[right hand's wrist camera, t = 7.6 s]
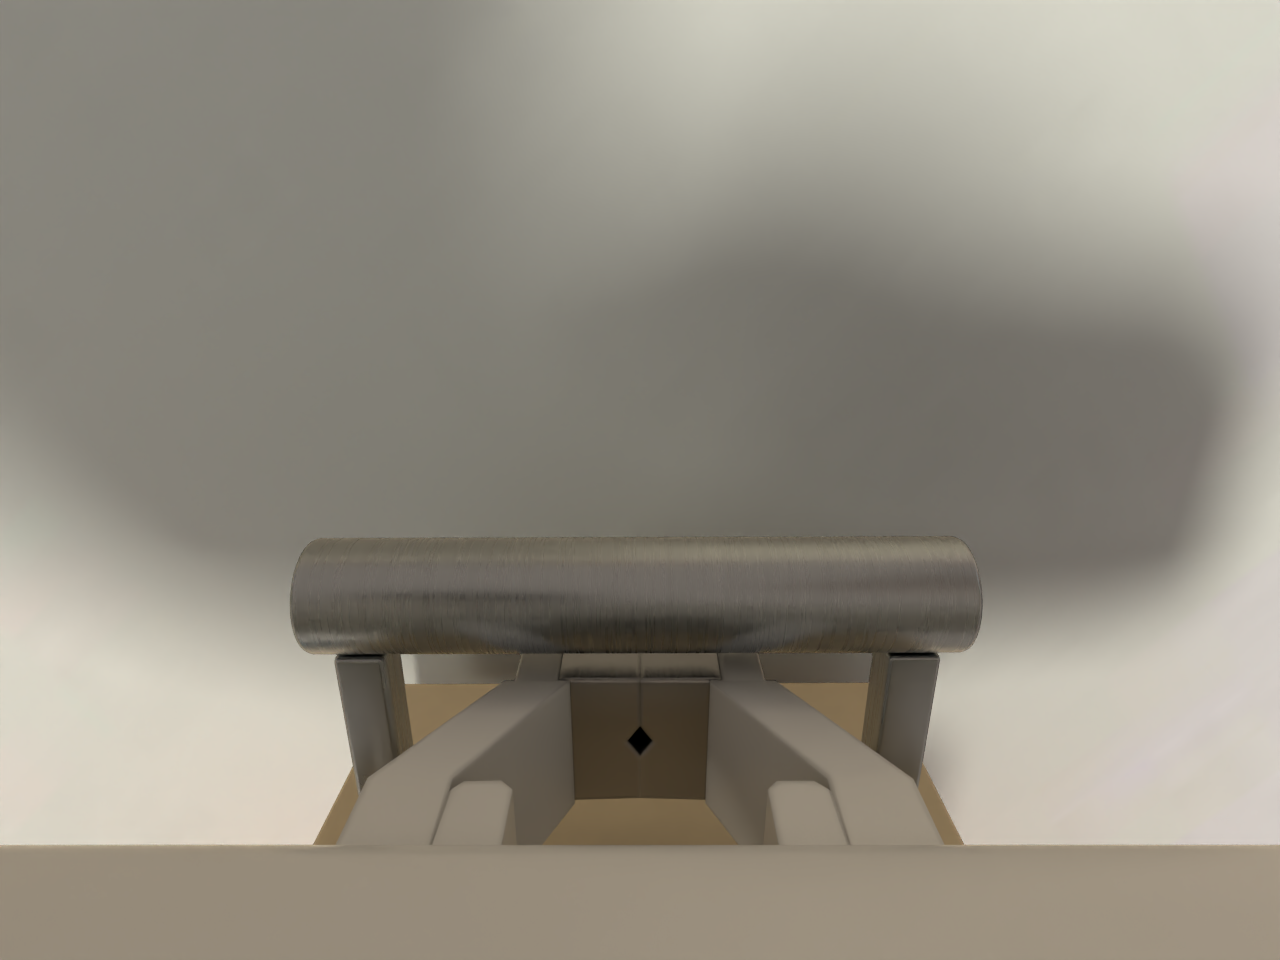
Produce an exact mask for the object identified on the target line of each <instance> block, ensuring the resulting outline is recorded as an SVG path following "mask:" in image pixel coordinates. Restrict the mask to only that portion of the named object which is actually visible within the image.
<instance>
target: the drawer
mask: <svg viewBox="0 0 1280 960" xmlns="http://www.w3.org/2000/svg"><path fill="white" fill-rule="evenodd" d="M290 616H291V623H292V628H293V632H294V635H295V638H296V640H297V642H298V644H299V645H300V647H301V648H302V649H303V650H304V651H306V652H308V653H310V654H338V655H337V656H336V658H335V668H336V674H337V679H338V685H339V690H340V696H341V701H342V707H343V713H344V718H345V724H346V729H347V735H348V740H349V746H350V752H351V757H352V763H353V767H352V769H351V771H350V773H349V775H348V777H347V779H346V781H345V783H344V785H343V787H342V789H341V791H340V793H339V795H338V797H337V799H336V801H335V803H334V805H333V807H332V809H331V810H330V812H329V814H328V816H327V818H326V820H325V822H324V824H323V826H322V828H321V830H320V832H319V834H318V836H317V838H316V840H315V842H314V844H313V845H336V843H337V841H338V838H339V836H340V834H341V832H342V830H343V828H344V826H345V824H346V822H347V820H348V818H349V815H350V813H351V811H352V809H353V807H354V805H355V803H356V801H357V799H358V797H359V795H360V793H361V790H362V788H363V786H364V784H365V782H366V780H367V778H368V777H369V776H371V775H372V774H374V773H375V772H376V771H378V770H379V769H381V768H382V767H383V766H385V765H386V764H388V763H389V762H390V761H392V760H393V759H395V758H396V757H397V756H399V755H400V754H402V753H403V752H405V751H406V750H407V749H409V748H410V747H412V746H413V745H414V744H416V743H417V742H419V741H420V740H421V739H423V738H424V737H426V736H427V735H428V734H430V733H431V732H433V731H434V730H435V729H437V728H438V727H440V726H441V725H443V724H444V723H445V722H447V721H448V720H450V719H451V718H452V717H454V716H455V715H457V714H458V713H459V712H461V711H462V710H464V709H465V708H466V707H468V706H469V705H471V704H472V703H473V702H475V701H476V700H478V699H479V698H480V697H482V696H483V695H485V694H486V693H488V692H489V691H490V690H492V689H493V688H495V687H496V686H497V685H499V684H405V683H404V676H403V669H402V661H401V654H592V653H873V654H872V662H871V670H870V677H869V683H780V684H781V685H783V686H784V687H785V688H787V689H788V690H790V691H791V692H792V693H794V694H795V695H797V696H798V697H799V698H801V699H802V700H804V701H805V702H806V703H808V704H809V705H811V706H812V707H813V708H815V709H816V710H818V711H819V712H820V713H822V714H823V715H825V716H826V717H827V718H829V719H830V720H832V721H833V722H834V723H836V724H837V725H839V726H840V727H841V728H843V729H844V730H846V731H847V732H848V733H850V734H851V735H853V736H854V737H855V738H857V739H858V740H860V741H861V742H862V743H864V744H865V745H867V746H868V747H869V748H871V749H872V750H874V751H875V752H876V753H878V754H879V755H881V756H882V757H883V758H885V759H886V760H888V761H889V762H890V763H892V764H893V765H895V766H896V767H897V768H899V769H900V770H902V771H903V772H904V773H906V774H907V775H909V776H910V777H911V778H913V779H914V781H915V783H916V786H917V788H918V790H919V792H920V794H921V796H922V798H923V800H924V802H925V805H926V807H927V809H928V811H929V813H930V815H931V817H932V819H933V821H934V824H935V826H936V828H937V830H938V832H939V834H940V836H941V838H942V841H943V843H944V845H964V843H963V841H962V839H961V837H960V835H959V834H958V832H957V830H956V828H955V826H954V824H953V822H952V820H951V818H950V816H949V814H948V812H947V810H946V808H945V806H944V804H943V802H942V800H941V798H940V796H939V794H938V792H937V790H936V788H935V786H934V784H933V782H932V780H931V778H930V776H929V774H928V772H927V770H926V768H925V766H924V764H923V757H924V751H925V745H926V739H927V733H928V727H929V721H930V715H931V709H932V703H933V697H934V691H935V685H936V679H937V674H938V668H939V662H940V658H939V655H938V654H937V652H963V651H965V650H967V649H969V648H970V647H971V646H972V645H973V643H974V642H975V640H976V638H977V635H978V632H979V629H980V624H981V618H982V588H981V581H980V576H979V572H978V568H977V565H976V562H975V559H974V557H973V555H972V553H971V551H970V549H969V548H968V546H967V545H966V544H965V543H964V542H963V541H962V540H960V539H959V538H956V537H953V536H847V537H520V538H319V539H316V540H314V541H312V542H311V543H309V544H308V545H307V546H306V548H305V549H304V550H303V552H302V553H301V555H300V557H299V559H298V562H297V565H296V568H295V571H294V575H293V579H292V585H291V593H290ZM542 845H738V844H737V843H736V841H735V840H734V839H733V838H732V836H731V835H730V834H729V832H728V831H727V830H726V829H725V827H724V826H723V825H722V824H721V822H720V821H719V820H718V818H717V817H716V816H715V815H714V813H713V812H712V811H711V810H710V808H709V807H708V806H707V804H706V803H705V800H691V799H655V798H624V799H589V800H575V804H574V805H573V806H572V808H571V809H570V810H569V812H568V813H567V814H566V815H565V817H564V818H563V819H562V820H561V822H560V823H559V824H558V825H557V827H556V828H555V829H554V830H553V832H552V833H551V834H550V836H549V837H548V838H547V839H546V841H545V842H544V843H543V844H542Z"/></svg>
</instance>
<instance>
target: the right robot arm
mask: <svg viewBox="0 0 1280 960" xmlns="http://www.w3.org/2000/svg"><path fill="white" fill-rule="evenodd" d="M624 798H655V799H691V800H705V803H706V804H707V806H708V807H709V808H710V810H711V811H712V812H713V813H714V815H715V816H716V817H717V818H718V820H719V821H720V822H721V824H722V825H723V826H724V827H725V829H726V830H727V831H728V832H729V834H730V835H731V836H732V838H733V839H734V840H735V841H736V843H737V844H738V845H542V844H543V843H544V842H545V841H546V839H547V838H548V837H549V836H550V834H551V833H552V832H553V830H554V829H555V828H556V827H557V825H558V824H559V823H560V822H561V820H562V819H563V818H564V817H565V815H566V814H567V813H568V812H569V810H570V809H571V808H572V806H573V805H574V804H575V800H589V799H624ZM0 960H1280V845H944V843H943V841H942V838H941V836H940V834H939V832H938V830H937V828H936V826H935V824H934V821H933V819H932V817H931V815H930V813H929V811H928V809H927V807H926V805H925V802H924V800H923V798H922V796H921V794H920V792H919V790H918V788H917V786H916V783H915V781H914V779H913V778H911V777H910V776H909V775H907V774H906V773H904V772H903V771H902V770H900V769H899V768H897V767H896V766H895V765H893V764H892V763H890V762H889V761H888V760H886V759H885V758H883V757H882V756H881V755H879V754H878V753H876V752H875V751H874V750H872V749H871V748H869V747H868V746H867V745H865V744H864V743H862V742H861V741H860V740H858V739H857V738H855V737H854V736H853V735H851V734H850V733H848V732H847V731H846V730H844V729H843V728H841V727H840V726H839V725H837V724H836V723H834V722H833V721H832V720H830V719H829V718H827V717H826V716H825V715H823V714H822V713H820V712H819V711H818V710H816V709H815V708H813V707H812V706H811V705H809V704H808V703H806V702H805V701H804V700H802V699H801V698H799V697H798V696H797V695H795V694H794V693H792V692H791V691H790V690H788V689H787V688H785V687H784V686H783V685H781V684H780V683H778V682H777V681H775V680H765V677H764V674H763V670H762V666H761V663H760V659H759V655H758V653H592V654H522V655H521V658H520V662H519V666H518V670H517V674H516V677H515V680H505V681H503V682H502V683H500V684H499V685H497V686H496V687H495V688H493V689H492V690H490V691H489V692H488V693H486V694H485V695H483V696H482V697H480V698H479V699H478V700H476V701H475V702H473V703H472V704H471V705H469V706H468V707H466V708H465V709H464V710H462V711H461V712H459V713H458V714H457V715H455V716H454V717H452V718H451V719H450V720H448V721H447V722H445V723H444V724H443V725H441V726H440V727H438V728H437V729H435V730H434V731H433V732H431V733H430V734H428V735H427V736H426V737H424V738H423V739H421V740H420V741H419V742H417V743H416V744H414V745H413V746H412V747H410V748H409V749H407V750H406V751H405V752H403V753H402V754H400V755H399V756H397V757H396V758H395V759H393V760H392V761H390V762H389V763H388V764H386V765H385V766H383V767H382V768H381V769H379V770H378V771H376V772H375V773H374V774H372V775H371V776H369V777H368V778H367V780H366V782H365V784H364V786H363V788H362V790H361V793H360V795H359V797H358V799H357V801H356V803H355V805H354V807H353V809H352V811H351V813H350V815H349V818H348V820H347V822H346V824H345V826H344V828H343V830H342V832H341V834H340V836H339V838H338V841H337V843H336V845H0Z"/></svg>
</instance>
